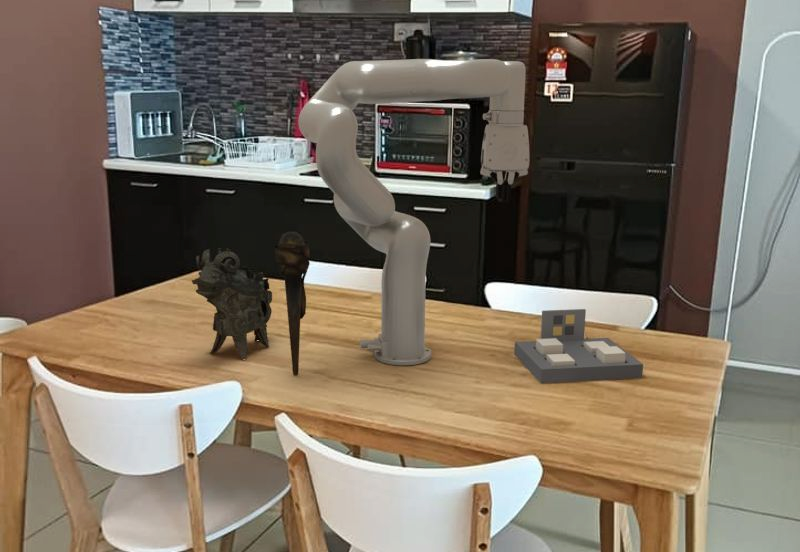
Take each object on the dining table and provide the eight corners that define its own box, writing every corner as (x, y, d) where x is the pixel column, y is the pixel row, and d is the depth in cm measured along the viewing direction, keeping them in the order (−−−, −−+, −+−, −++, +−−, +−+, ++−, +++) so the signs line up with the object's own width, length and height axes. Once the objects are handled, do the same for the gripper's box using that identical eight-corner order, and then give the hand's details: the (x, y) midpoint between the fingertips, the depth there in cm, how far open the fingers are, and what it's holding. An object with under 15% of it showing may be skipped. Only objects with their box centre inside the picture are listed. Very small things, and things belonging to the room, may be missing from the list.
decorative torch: (298, 382, 168) (296, 236, 161) (271, 376, 171) (267, 233, 164) (318, 372, 173) (316, 231, 166) (291, 366, 177) (288, 228, 170)
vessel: (181, 365, 176) (177, 251, 173) (250, 340, 199) (247, 239, 195) (224, 371, 172) (220, 254, 168) (289, 345, 194) (287, 241, 190)
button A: (553, 372, 171) (554, 361, 170) (546, 365, 175) (546, 354, 174) (574, 371, 171) (574, 360, 171) (566, 364, 176) (567, 353, 175)
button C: (542, 356, 177) (542, 345, 176) (535, 349, 181) (536, 339, 181) (562, 355, 178) (563, 344, 177) (555, 348, 182) (555, 338, 182)
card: (541, 341, 186) (543, 311, 184) (540, 340, 186) (542, 310, 185) (584, 339, 187) (586, 309, 186) (582, 338, 188) (584, 308, 186)
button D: (590, 359, 179) (591, 348, 179) (583, 352, 183) (583, 341, 183) (610, 358, 180) (611, 347, 179) (602, 351, 184) (603, 341, 184)
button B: (604, 365, 172) (605, 354, 172) (595, 357, 176) (596, 347, 176) (624, 364, 173) (625, 353, 172) (615, 356, 177) (616, 346, 177)
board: (540, 383, 169) (541, 369, 168) (514, 354, 186) (514, 341, 185) (642, 377, 172) (643, 364, 172) (606, 350, 190) (607, 337, 189)
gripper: (477, 119, 178) (475, 204, 183) (544, 119, 181) (540, 203, 185) (469, 117, 186) (466, 199, 190) (533, 118, 188) (529, 198, 192)
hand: (502, 201), depth 188 cm, fingers closed
